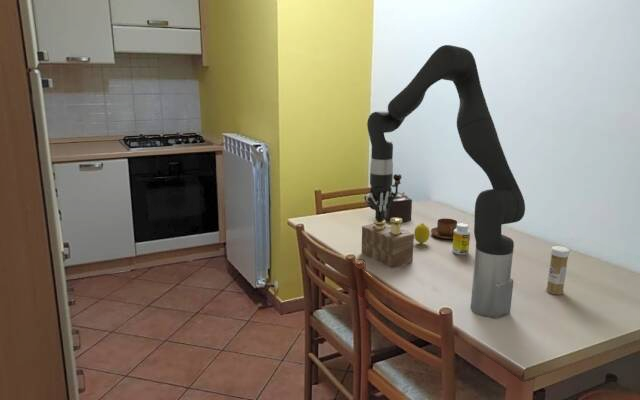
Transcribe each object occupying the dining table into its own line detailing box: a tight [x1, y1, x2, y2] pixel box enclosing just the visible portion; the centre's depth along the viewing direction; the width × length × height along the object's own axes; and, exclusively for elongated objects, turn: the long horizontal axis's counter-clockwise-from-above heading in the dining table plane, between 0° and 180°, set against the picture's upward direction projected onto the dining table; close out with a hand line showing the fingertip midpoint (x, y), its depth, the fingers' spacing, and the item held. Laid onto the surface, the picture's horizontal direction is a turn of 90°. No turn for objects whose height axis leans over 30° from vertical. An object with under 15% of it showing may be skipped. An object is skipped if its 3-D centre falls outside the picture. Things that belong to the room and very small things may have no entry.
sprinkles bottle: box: [546, 245, 570, 295], centre depth 141 cm, size 5×5×14 cm
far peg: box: [373, 219, 387, 229], centre depth 170 cm, size 4×4×10 cm
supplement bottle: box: [452, 222, 471, 256], centre depth 172 cm, size 6×6×10 cm
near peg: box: [389, 218, 403, 235], centre depth 163 cm, size 4×4×10 cm
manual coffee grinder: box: [384, 173, 413, 223], centre depth 214 cm, size 16×11×18 cm
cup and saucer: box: [430, 217, 458, 240], centre depth 190 cm, size 12×12×6 cm
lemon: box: [413, 223, 431, 245], centre depth 181 cm, size 6×6×8 cm
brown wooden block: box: [361, 223, 415, 269], centre depth 167 cm, size 16×9×10 cm, turn 35°
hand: (379, 220), depth 169 cm, fingers closed
